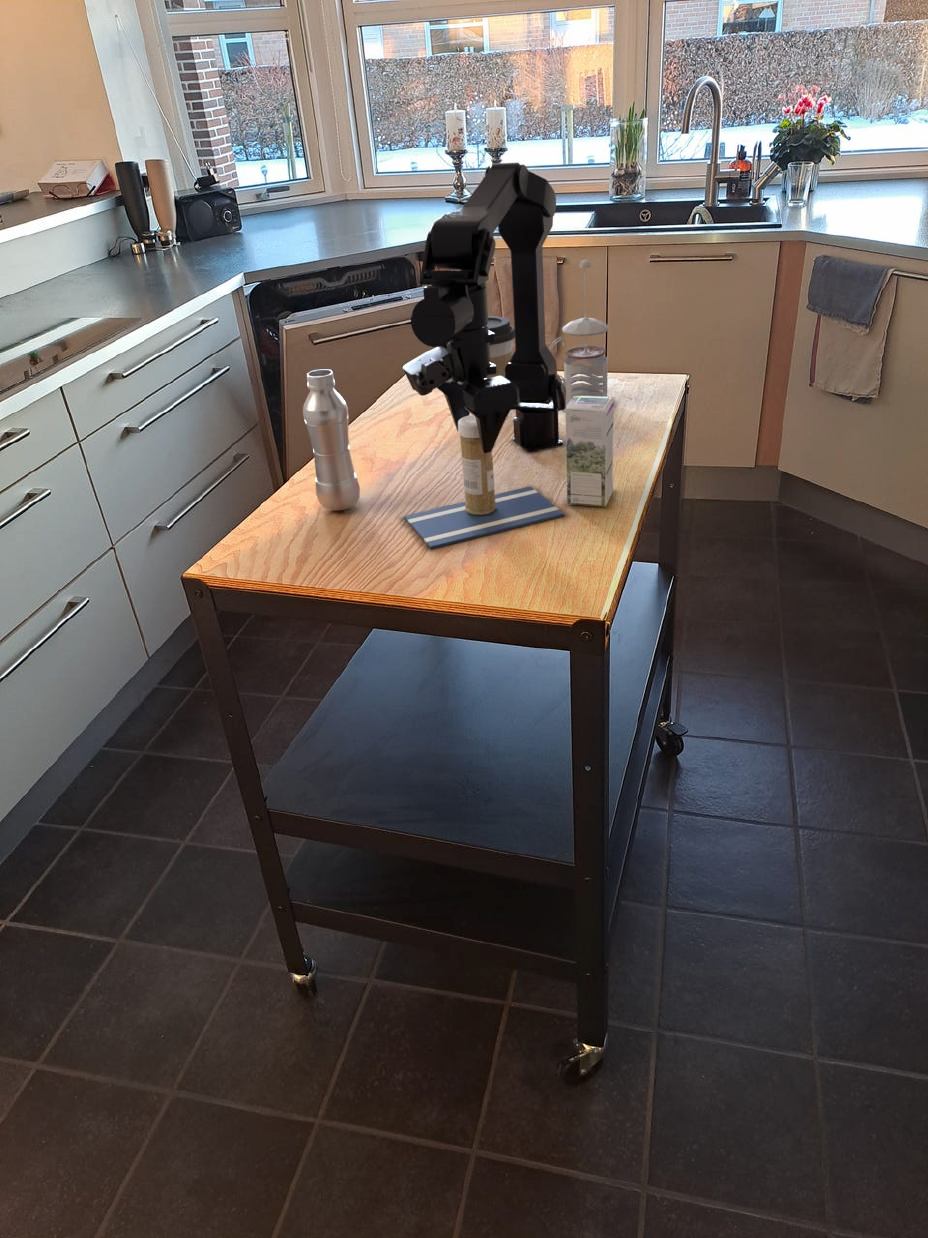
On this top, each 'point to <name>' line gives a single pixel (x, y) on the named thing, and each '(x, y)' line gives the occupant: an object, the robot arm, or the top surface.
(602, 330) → the french press
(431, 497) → the top surface
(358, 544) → the top surface
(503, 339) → the coffee cup
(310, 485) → the top surface
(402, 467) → the top surface
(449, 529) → the tea towel
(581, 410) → the syrup box
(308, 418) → the silver water bottle
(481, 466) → the sprinkles bottle
